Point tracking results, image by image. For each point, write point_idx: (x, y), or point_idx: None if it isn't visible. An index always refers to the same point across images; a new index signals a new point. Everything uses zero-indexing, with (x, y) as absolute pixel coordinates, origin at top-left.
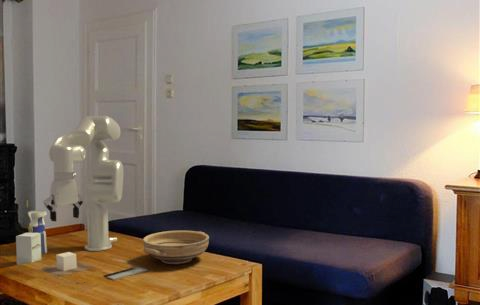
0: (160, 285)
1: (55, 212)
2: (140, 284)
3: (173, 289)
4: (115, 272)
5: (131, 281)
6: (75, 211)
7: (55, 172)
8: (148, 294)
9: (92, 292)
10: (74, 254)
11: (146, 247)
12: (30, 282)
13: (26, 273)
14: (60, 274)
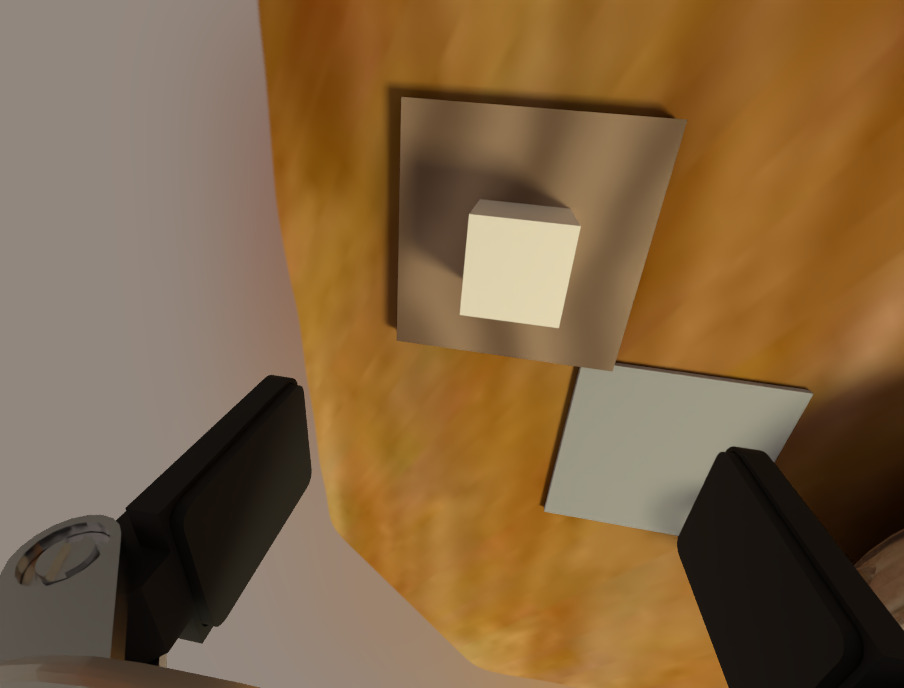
0: (583, 635)
1: (208, 617)
2: (557, 592)
3: (571, 669)
4: (621, 467)
5: (568, 558)
6: (742, 631)
7: None
8: (497, 640)
9: (406, 524)
10: (546, 324)
11: (887, 587)
12: (299, 244)
13: (349, 46)
14: (422, 321)
